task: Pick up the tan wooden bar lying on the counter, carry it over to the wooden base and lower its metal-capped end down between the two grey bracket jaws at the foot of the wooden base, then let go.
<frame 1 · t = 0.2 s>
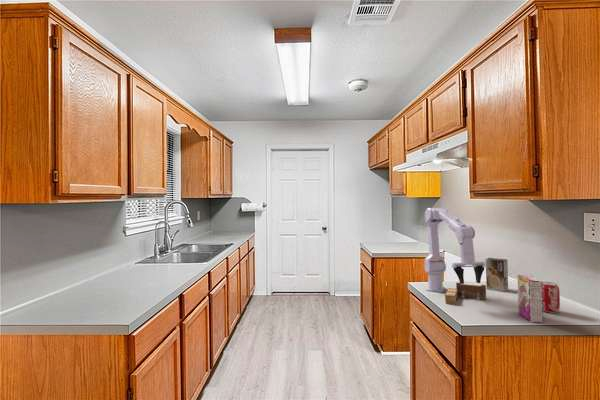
hand: (470, 283, 157), 10 cm above the table, tool pointing down, fingers open, 7 cm apart
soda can: (549, 311, 148), on the table
tan wooden bar: (451, 300, 167), on the table
coffee box: (497, 289, 184), on the table
candy bar box: (530, 318, 140), on the table
wooden base: (471, 297, 170), on the table
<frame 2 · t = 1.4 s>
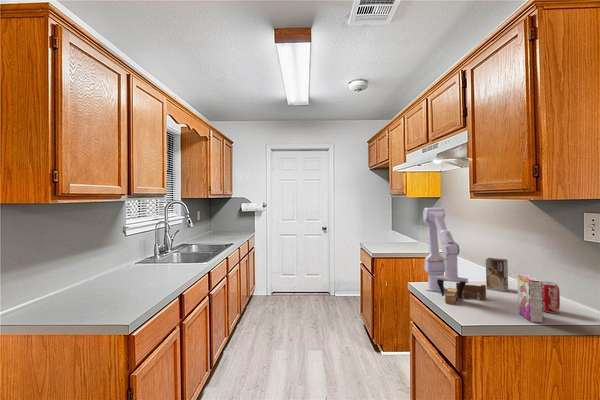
hand: (451, 296, 167), 2 cm above the table, tool pointing down, fingers open, 7 cm apart
nothing on the table moved.
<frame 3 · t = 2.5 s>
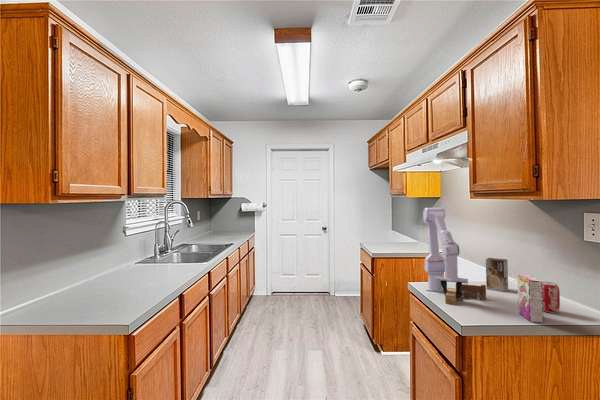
hand: (451, 297, 167), 1 cm above the table, tool pointing down, fingers closed on tan wooden bar, 4 cm apart
tan wooden bar: (451, 300, 167), on the table, touching gripper
everything else where it was.
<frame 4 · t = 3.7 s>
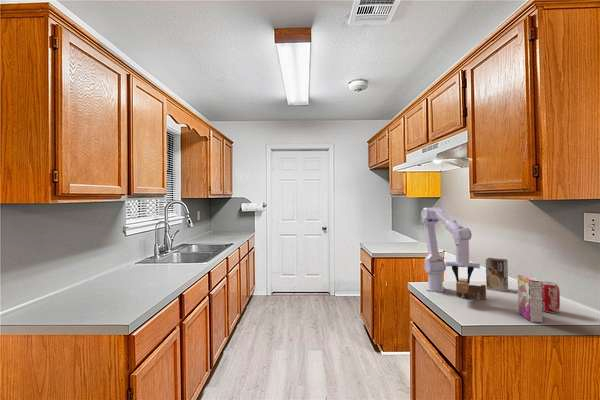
hand: (463, 282, 164), 9 cm above the table, tool pointing down, fingers closed on tan wooden bar, 4 cm apart
tan wooden bar: (463, 289, 164), point 6 cm above the table, touching gripper
everything else where it was.
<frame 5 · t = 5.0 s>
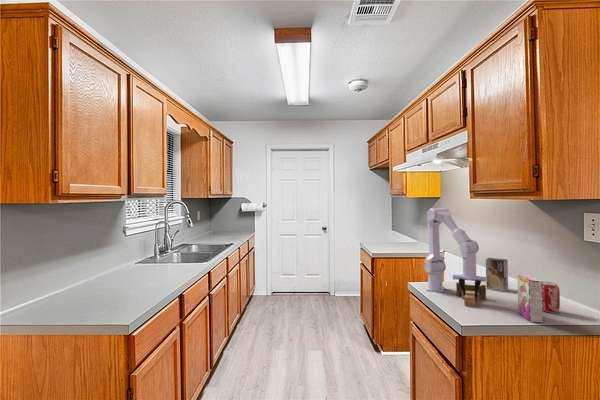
hand: (470, 295, 163), 3 cm above the table, tool pointing down, fingers closed on tan wooden bar, 4 cm apart
tan wooden bar: (470, 302, 163), on the table, touching gripper
everything else where it was.
when the fingers open (3 cm above the table, at t = 5.9 s): tan wooden bar stays where it is, on the table.
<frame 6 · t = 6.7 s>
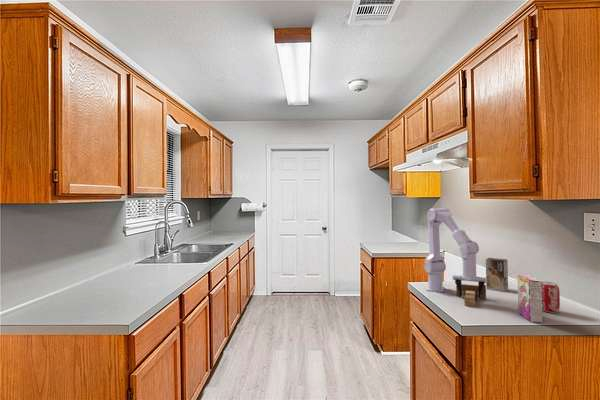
hand: (470, 296, 163), 3 cm above the table, tool pointing down, fingers open, 7 cm apart
tan wooden bar: (470, 302, 163), on the table
everything else where it was.
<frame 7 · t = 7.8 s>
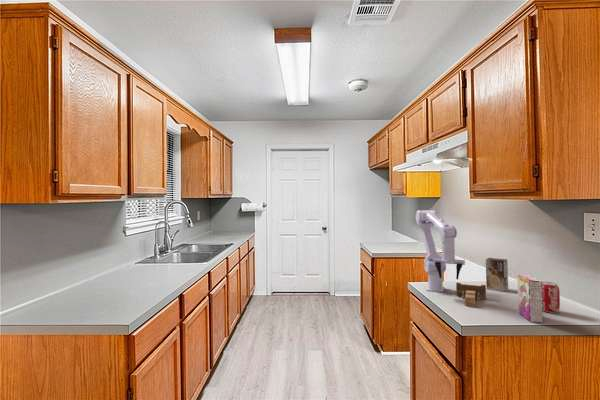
hand: (448, 278, 171), 9 cm above the table, tool pointing down, fingers open, 7 cm apart
nothing on the table moved.
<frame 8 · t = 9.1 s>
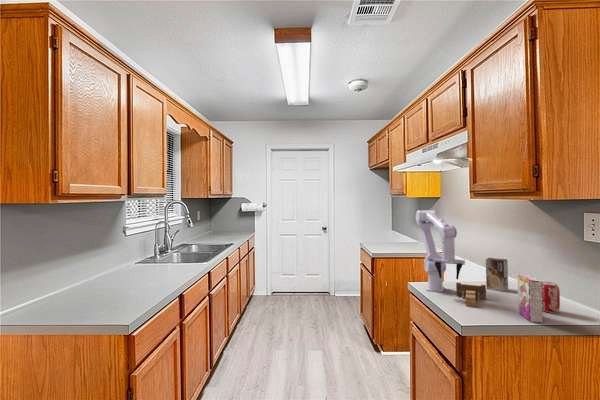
hand: (448, 278, 171), 9 cm above the table, tool pointing down, fingers open, 7 cm apart
nothing on the table moved.
at the end: tan wooden bar 0.4 cm from the target spot on the table beside the wooden base, on the table; tan wooden bar tilted 0°; the gripper is holding nothing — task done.
